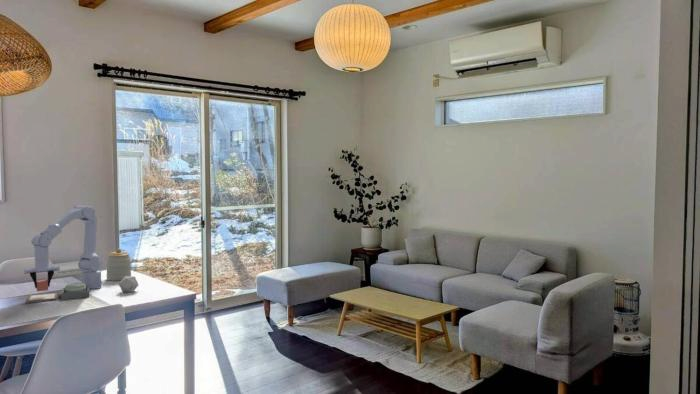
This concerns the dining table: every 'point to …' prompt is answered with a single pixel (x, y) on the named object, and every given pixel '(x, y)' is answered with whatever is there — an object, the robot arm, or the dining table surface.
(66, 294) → the grey square tray
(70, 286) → the dome
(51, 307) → the dining table surface
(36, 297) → the board
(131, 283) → the die
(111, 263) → the jar
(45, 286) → the small die
